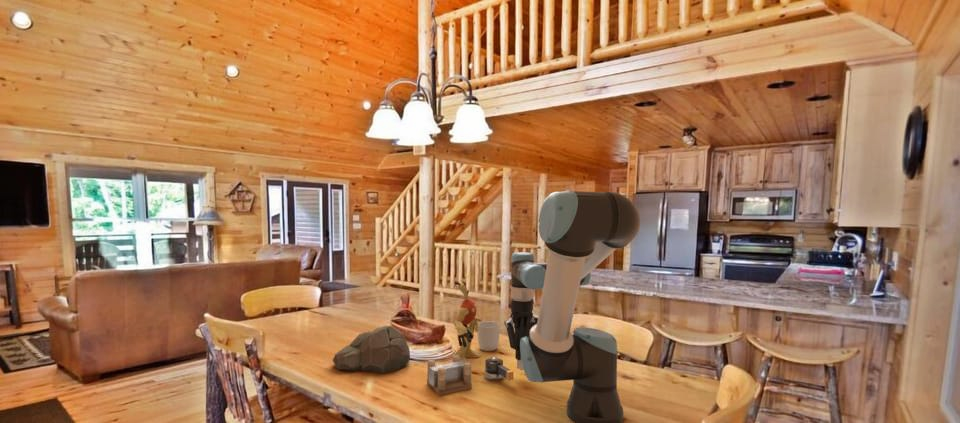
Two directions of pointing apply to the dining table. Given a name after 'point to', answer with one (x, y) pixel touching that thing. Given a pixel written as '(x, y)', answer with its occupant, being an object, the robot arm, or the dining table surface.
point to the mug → (488, 335)
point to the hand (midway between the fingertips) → (521, 368)
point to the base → (493, 376)
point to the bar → (447, 373)
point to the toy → (462, 320)
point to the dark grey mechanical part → (498, 368)
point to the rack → (452, 387)
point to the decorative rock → (375, 352)
